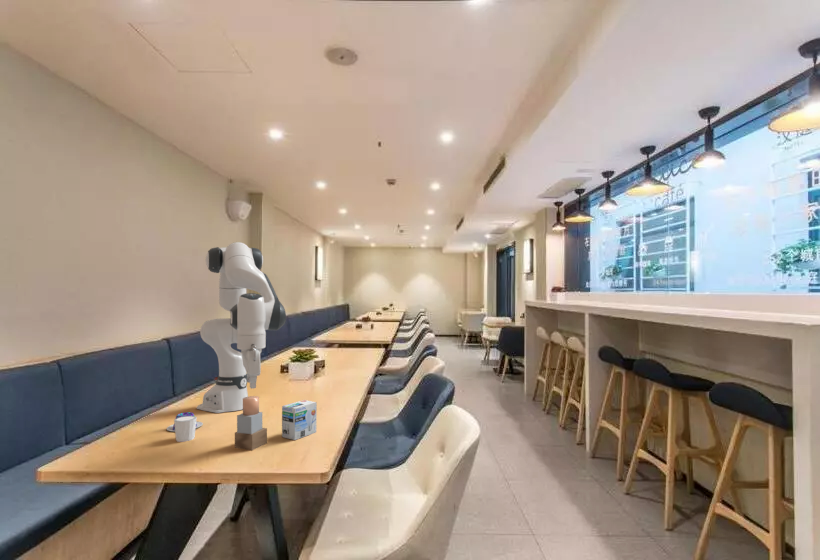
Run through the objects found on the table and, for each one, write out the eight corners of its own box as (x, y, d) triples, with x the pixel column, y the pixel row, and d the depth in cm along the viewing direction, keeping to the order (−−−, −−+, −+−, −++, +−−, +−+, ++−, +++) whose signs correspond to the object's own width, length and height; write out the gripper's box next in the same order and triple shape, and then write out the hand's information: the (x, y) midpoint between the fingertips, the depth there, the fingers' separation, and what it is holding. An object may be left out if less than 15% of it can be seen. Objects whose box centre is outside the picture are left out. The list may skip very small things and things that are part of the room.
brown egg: (243, 416, 138) (243, 400, 138) (242, 412, 142) (242, 397, 142) (259, 414, 140) (259, 398, 140) (258, 410, 144) (258, 395, 144)
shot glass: (173, 443, 143) (173, 422, 143) (174, 437, 149) (174, 417, 149) (196, 440, 146) (196, 419, 146) (196, 434, 152) (196, 414, 152)
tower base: (234, 448, 138) (234, 432, 139) (250, 441, 145) (249, 426, 145) (252, 450, 136) (252, 434, 136) (266, 443, 142) (266, 428, 143)
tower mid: (237, 432, 138) (237, 415, 139) (248, 427, 144) (248, 411, 144) (251, 434, 137) (251, 416, 137) (262, 428, 142) (262, 412, 142)
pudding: (178, 423, 167) (178, 409, 167) (208, 423, 166) (208, 409, 167) (159, 433, 155) (159, 418, 155) (192, 433, 154) (192, 418, 155)
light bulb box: (294, 440, 144) (294, 408, 145) (281, 437, 148) (281, 405, 148) (317, 432, 154) (317, 401, 154) (303, 429, 157) (303, 399, 157)
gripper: (265, 346, 134) (265, 390, 133) (258, 339, 152) (258, 378, 152) (243, 347, 131) (243, 393, 131) (239, 340, 149) (238, 379, 149)
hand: (251, 384), depth 142 cm, fingers open, 8 cm apart
